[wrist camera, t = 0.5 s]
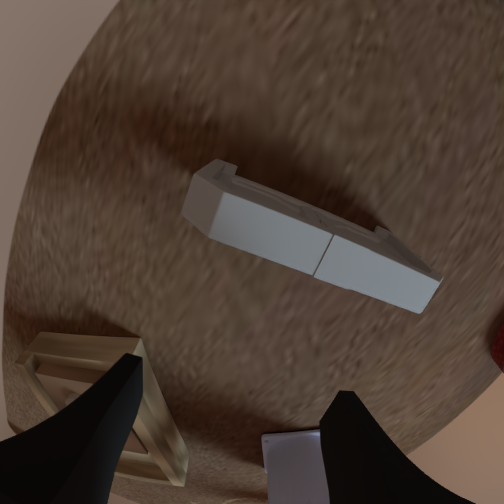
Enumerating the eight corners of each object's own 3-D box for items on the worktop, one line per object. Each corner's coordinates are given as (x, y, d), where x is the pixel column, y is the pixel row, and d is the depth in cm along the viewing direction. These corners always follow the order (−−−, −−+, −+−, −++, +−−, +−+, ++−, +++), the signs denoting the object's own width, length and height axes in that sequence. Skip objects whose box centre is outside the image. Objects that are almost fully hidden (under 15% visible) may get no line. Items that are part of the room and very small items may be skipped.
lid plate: (150, 442, 23) (146, 461, 21) (88, 431, 23) (81, 447, 21) (111, 371, 19) (101, 393, 17) (42, 361, 19) (30, 379, 17)
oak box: (189, 452, 28) (184, 486, 24) (107, 441, 29) (97, 470, 24) (140, 337, 21) (120, 380, 17) (40, 331, 22) (14, 363, 17)
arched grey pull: (380, 254, 19) (438, 321, 11) (206, 185, 17) (170, 225, 10) (392, 232, 18) (458, 290, 11) (216, 157, 16) (186, 177, 9)
